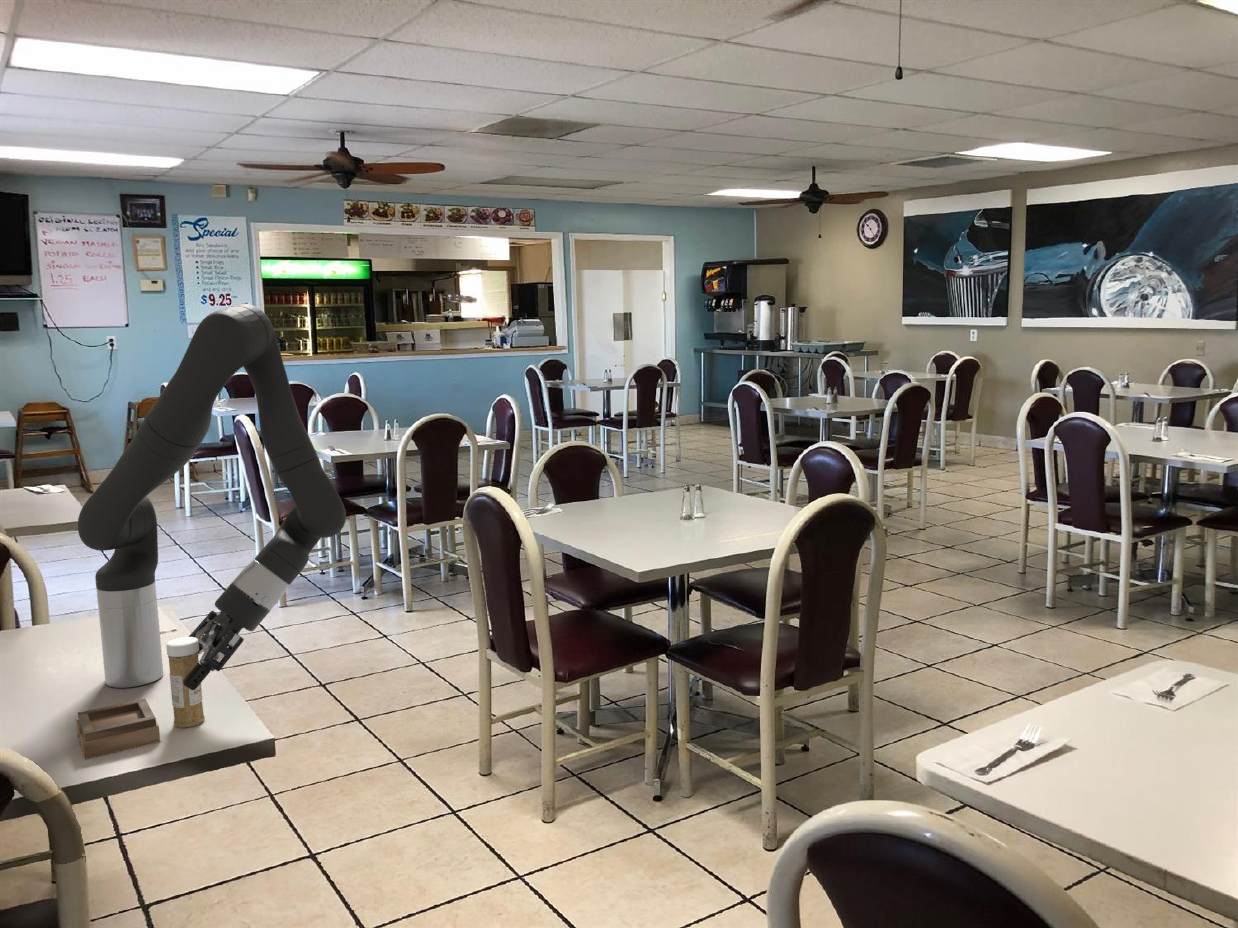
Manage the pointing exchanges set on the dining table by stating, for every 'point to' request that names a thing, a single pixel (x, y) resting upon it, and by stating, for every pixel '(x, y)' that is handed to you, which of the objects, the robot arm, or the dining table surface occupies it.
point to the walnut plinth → (116, 728)
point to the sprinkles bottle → (183, 698)
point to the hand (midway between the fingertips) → (182, 678)
